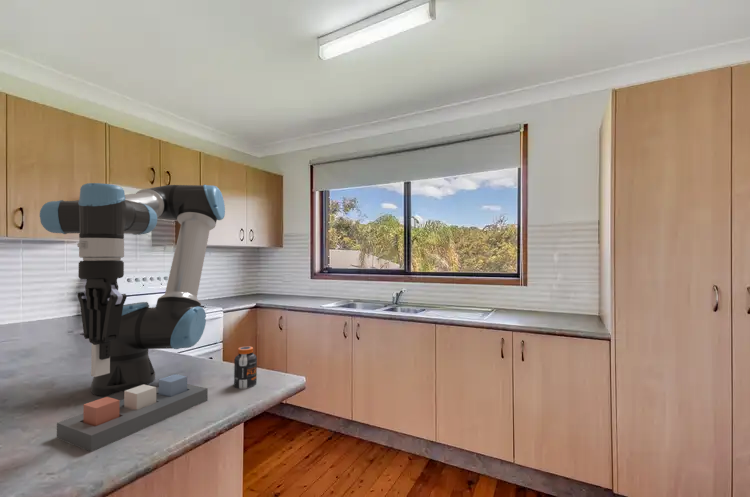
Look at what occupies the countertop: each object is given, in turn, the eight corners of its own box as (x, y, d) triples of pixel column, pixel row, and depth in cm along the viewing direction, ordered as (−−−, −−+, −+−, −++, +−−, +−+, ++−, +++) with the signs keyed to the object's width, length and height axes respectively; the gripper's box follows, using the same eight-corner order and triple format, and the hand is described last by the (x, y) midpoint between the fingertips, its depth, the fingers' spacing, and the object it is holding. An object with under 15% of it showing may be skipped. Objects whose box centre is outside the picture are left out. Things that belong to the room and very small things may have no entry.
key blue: (158, 396, 90) (158, 379, 90) (175, 389, 94) (175, 374, 94) (170, 399, 88) (170, 382, 88) (187, 392, 92) (187, 376, 92)
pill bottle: (249, 392, 100) (249, 351, 100) (229, 391, 101) (229, 349, 101) (260, 385, 106) (260, 345, 106) (241, 383, 107) (241, 344, 107)
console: (56, 442, 74) (56, 422, 74) (175, 396, 98) (175, 381, 98) (91, 457, 69) (91, 435, 69) (207, 404, 93) (207, 388, 93)
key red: (83, 424, 75) (83, 404, 75) (106, 415, 79) (106, 396, 79) (96, 428, 73) (96, 408, 73) (119, 419, 77) (119, 400, 77)
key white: (124, 408, 82) (124, 390, 82) (143, 401, 86) (143, 384, 86) (136, 412, 80) (136, 394, 80) (156, 404, 84) (156, 387, 84)
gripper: (63, 259, 76) (61, 375, 75) (100, 259, 70) (99, 385, 70) (103, 259, 82) (101, 365, 82) (140, 259, 77) (139, 373, 76)
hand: (100, 374), depth 76 cm, fingers closed
